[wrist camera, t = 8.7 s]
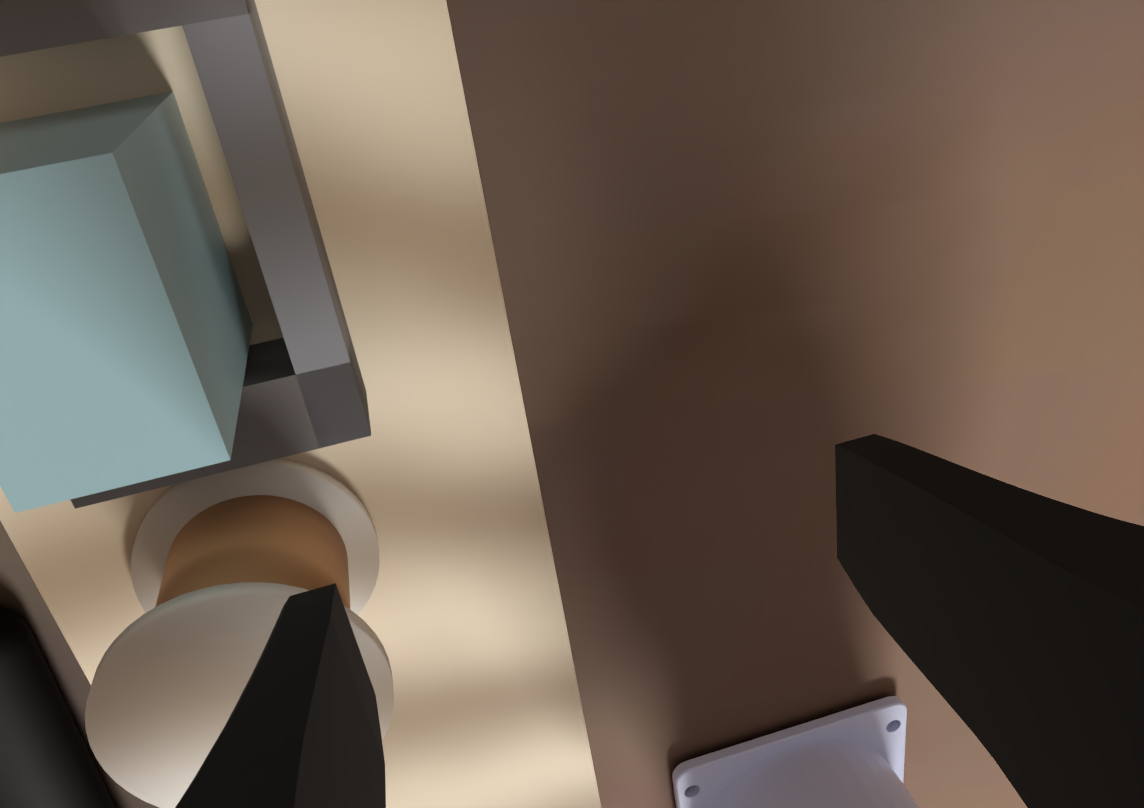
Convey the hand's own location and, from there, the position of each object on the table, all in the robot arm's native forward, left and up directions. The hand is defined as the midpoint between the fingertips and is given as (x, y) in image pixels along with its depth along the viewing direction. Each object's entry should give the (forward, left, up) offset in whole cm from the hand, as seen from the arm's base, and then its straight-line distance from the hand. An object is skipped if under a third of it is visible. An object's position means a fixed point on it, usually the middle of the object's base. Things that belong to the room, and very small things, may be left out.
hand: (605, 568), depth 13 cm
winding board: (-4, +5, -9) cm, 11 cm away
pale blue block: (+4, +6, -8) cm, 11 cm away
